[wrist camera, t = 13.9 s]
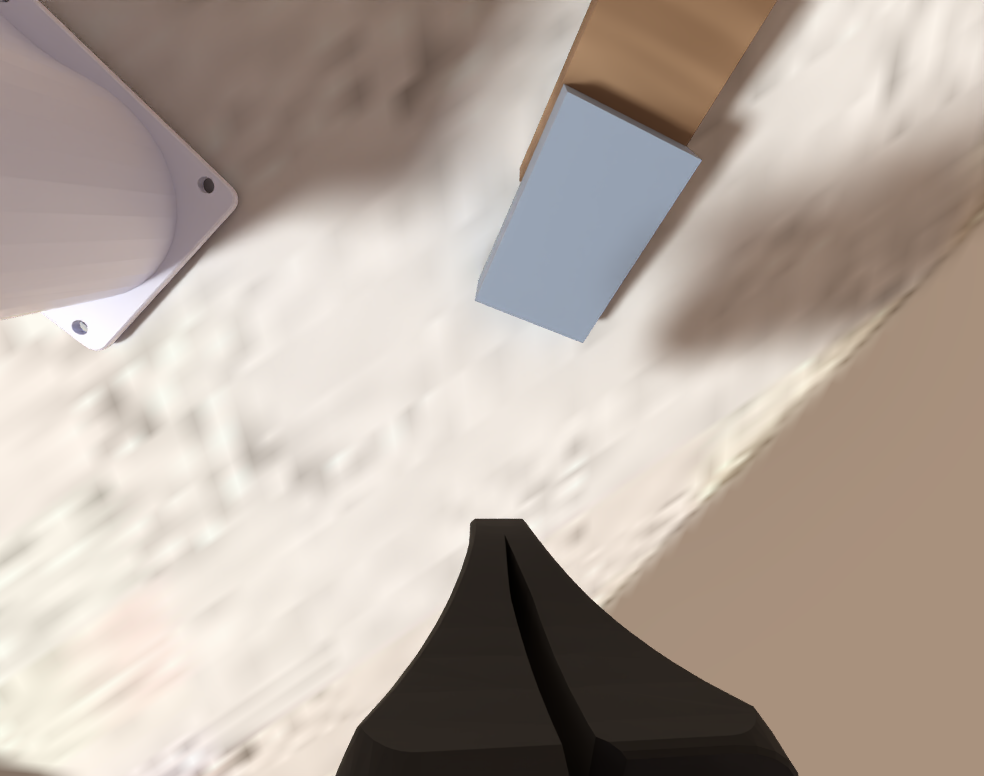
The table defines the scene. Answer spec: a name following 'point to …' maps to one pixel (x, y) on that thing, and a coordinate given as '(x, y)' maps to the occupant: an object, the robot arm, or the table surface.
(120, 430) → the table surface
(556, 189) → the domino
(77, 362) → the table surface
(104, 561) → the table surface
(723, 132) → the table surface
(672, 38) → the domino
